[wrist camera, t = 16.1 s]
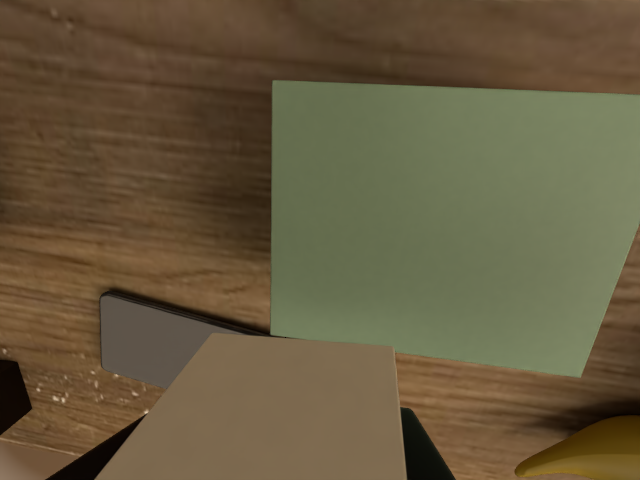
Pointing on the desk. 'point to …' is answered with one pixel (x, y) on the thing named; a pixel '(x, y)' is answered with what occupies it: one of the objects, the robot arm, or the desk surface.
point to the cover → (451, 218)
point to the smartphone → (153, 338)
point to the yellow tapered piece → (593, 452)
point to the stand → (11, 395)
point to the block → (272, 415)
